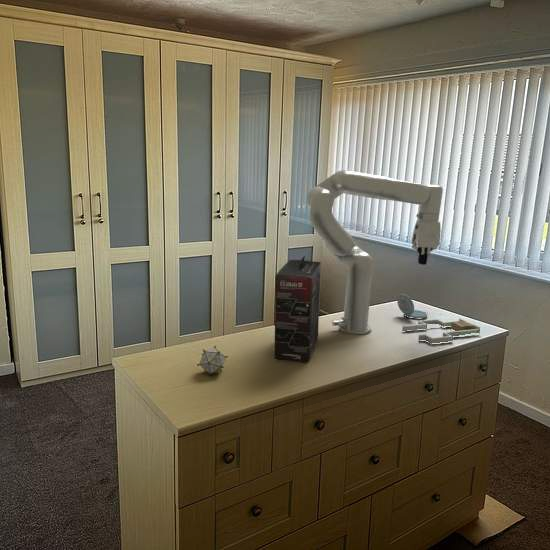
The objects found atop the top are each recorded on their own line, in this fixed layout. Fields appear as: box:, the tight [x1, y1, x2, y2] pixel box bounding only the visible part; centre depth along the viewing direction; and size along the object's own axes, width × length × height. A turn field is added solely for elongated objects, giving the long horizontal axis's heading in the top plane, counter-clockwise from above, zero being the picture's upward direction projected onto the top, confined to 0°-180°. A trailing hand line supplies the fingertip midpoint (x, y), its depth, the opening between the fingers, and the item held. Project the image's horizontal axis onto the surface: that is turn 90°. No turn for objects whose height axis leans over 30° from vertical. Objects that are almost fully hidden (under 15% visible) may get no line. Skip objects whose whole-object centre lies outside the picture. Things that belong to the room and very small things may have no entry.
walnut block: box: [450, 320, 474, 331], centre depth 205 cm, size 6×6×4 cm
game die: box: [196, 345, 229, 377], centre depth 158 cm, size 9×8×10 cm
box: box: [401, 318, 481, 344], centre depth 202 cm, size 28×20×4 cm
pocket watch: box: [396, 293, 429, 319], centre depth 223 cm, size 10×11×15 cm
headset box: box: [273, 255, 322, 364], centre depth 177 cm, size 24×13×33 cm, turn 168°
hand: (422, 263), depth 201 cm, fingers closed
